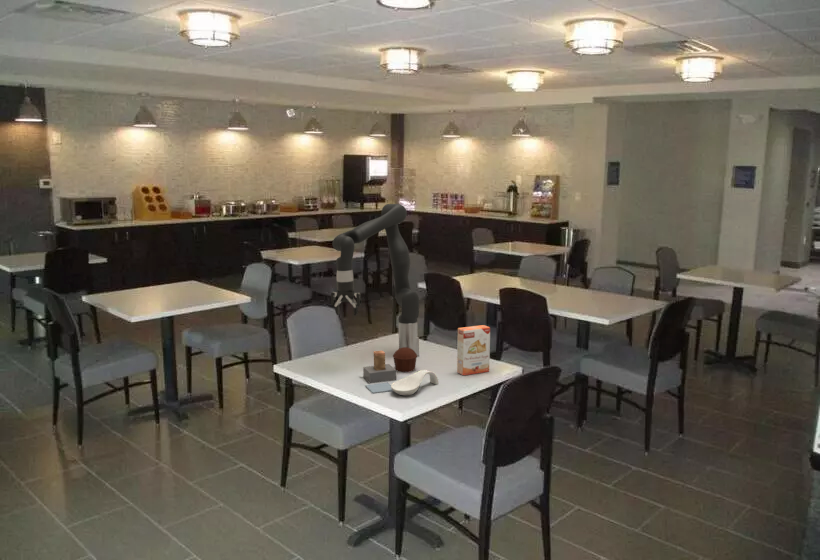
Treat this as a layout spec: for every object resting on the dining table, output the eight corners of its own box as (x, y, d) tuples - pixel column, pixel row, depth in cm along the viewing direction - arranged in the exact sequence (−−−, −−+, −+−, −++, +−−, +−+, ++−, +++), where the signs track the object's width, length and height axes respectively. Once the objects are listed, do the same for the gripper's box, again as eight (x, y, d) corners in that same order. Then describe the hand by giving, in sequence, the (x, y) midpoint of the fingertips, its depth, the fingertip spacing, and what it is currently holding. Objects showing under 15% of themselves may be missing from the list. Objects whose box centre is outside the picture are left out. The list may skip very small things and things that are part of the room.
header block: (388, 373, 296) (388, 363, 295) (396, 379, 286) (396, 370, 286) (363, 376, 291) (363, 366, 291) (370, 383, 282) (369, 373, 281)
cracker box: (463, 376, 290) (463, 330, 287) (456, 372, 296) (456, 327, 292) (490, 371, 296) (490, 327, 293) (483, 368, 302) (483, 324, 298)
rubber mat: (387, 383, 282) (387, 382, 282) (395, 390, 273) (395, 389, 272) (365, 386, 278) (365, 385, 278) (372, 393, 269) (372, 392, 269)
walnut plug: (382, 376, 291) (382, 350, 289) (385, 379, 288) (385, 352, 286) (374, 377, 290) (373, 351, 288) (376, 380, 286) (376, 353, 284)
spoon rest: (405, 400, 261) (405, 383, 260) (385, 393, 270) (384, 377, 268) (444, 386, 278) (444, 370, 277) (424, 380, 286) (424, 364, 285)
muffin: (392, 366, 307) (392, 345, 305) (416, 365, 308) (415, 344, 306) (394, 373, 295) (393, 352, 293) (418, 372, 296) (418, 351, 294)
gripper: (362, 278, 296) (364, 313, 299) (334, 278, 301) (336, 312, 304) (356, 281, 289) (358, 317, 292) (327, 280, 294) (329, 316, 297)
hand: (346, 314), depth 298 cm, fingers open, 8 cm apart
